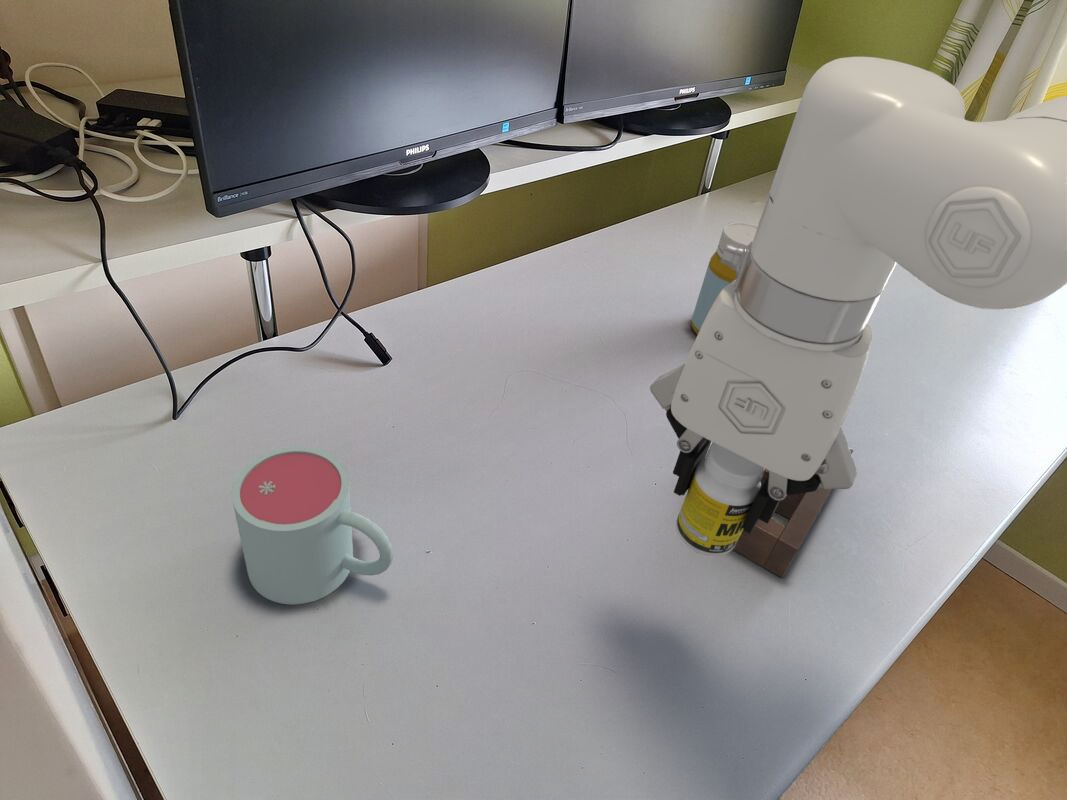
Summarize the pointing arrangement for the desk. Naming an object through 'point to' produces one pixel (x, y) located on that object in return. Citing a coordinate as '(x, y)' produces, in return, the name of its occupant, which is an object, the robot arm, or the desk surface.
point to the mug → (300, 525)
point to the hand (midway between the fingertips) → (719, 500)
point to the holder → (782, 530)
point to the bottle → (720, 270)
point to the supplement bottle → (718, 502)
